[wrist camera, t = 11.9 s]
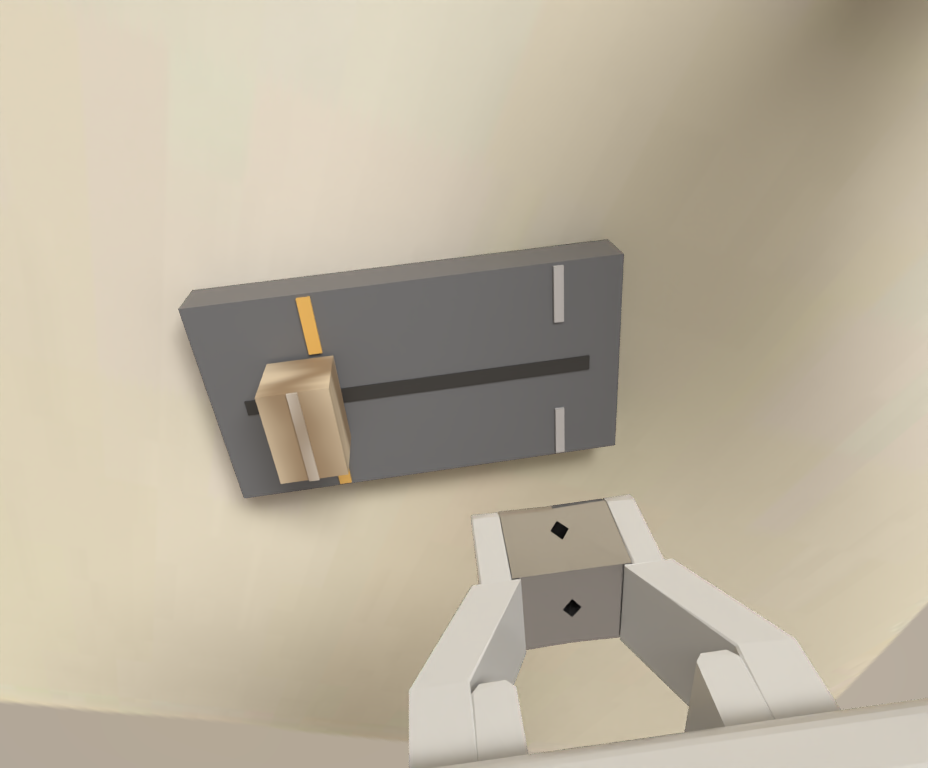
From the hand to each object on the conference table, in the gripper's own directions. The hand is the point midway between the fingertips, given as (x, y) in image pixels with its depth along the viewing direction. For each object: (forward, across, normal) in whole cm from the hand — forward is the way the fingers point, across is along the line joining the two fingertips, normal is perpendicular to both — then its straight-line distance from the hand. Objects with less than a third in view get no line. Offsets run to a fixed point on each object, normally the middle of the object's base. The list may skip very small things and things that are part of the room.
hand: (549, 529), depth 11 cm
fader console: (+28, +3, +12) cm, 31 cm away
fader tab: (+25, +10, +11) cm, 29 cm away
